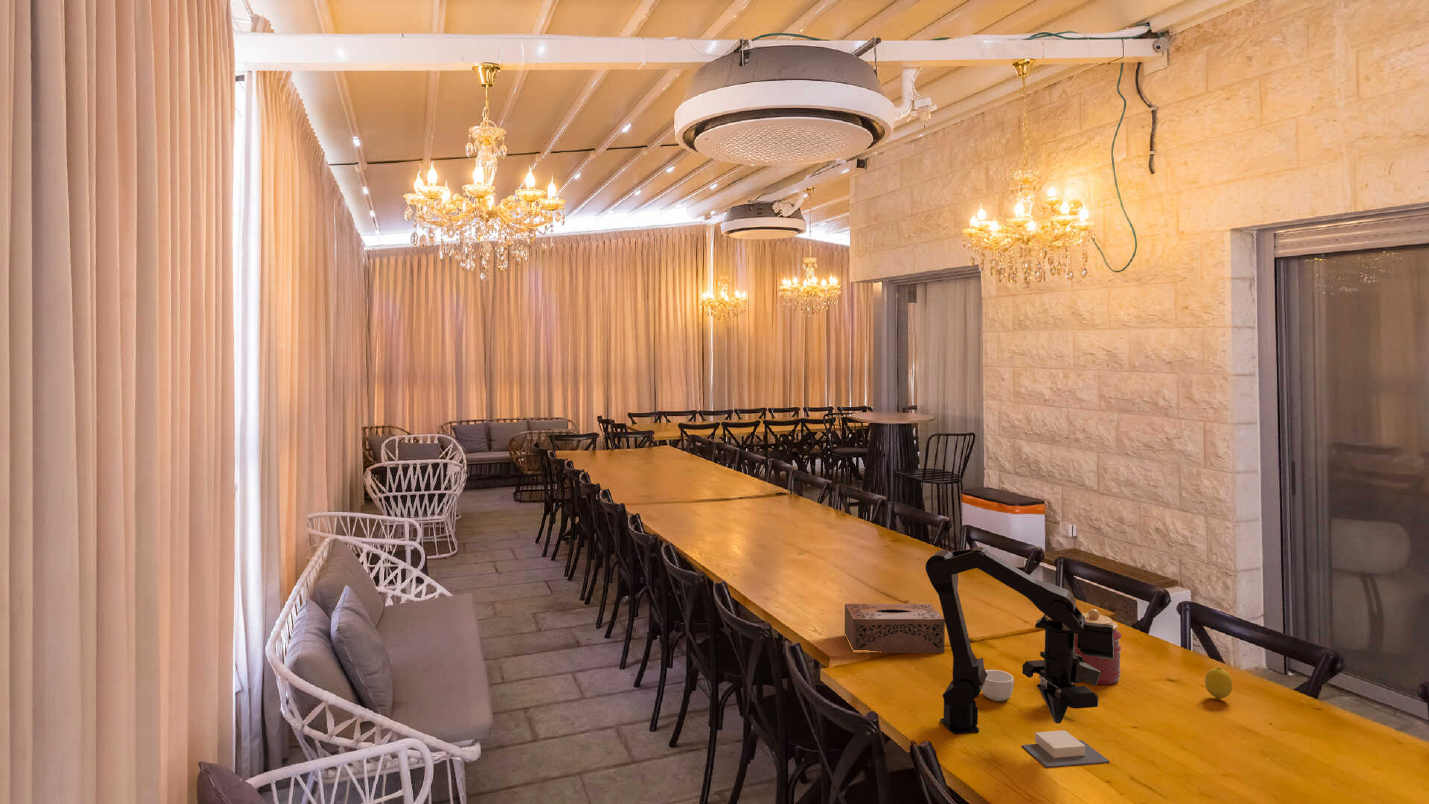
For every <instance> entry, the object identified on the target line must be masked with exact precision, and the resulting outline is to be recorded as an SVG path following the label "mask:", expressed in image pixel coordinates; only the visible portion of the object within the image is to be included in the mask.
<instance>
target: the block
mask: <svg viewBox="0 0 1429 804" xmlns="http://www.w3.org/2000/svg"><path fill="white" fill-rule="evenodd" d="M1034 742H1035V744H1038V745H1040V746H1041V747H1042V748H1043V749H1044V750H1045V751H1047V752H1048V753H1049V754H1050V755H1051V756H1052V757H1054V758H1059V757H1072V756H1084V755H1085V745H1084V744H1082V743H1081V742H1080V741H1078V738H1076V737H1074V736H1073V735H1072V734H1070V732H1068V731H1067V730H1064V729H1063V730H1051V731H1039V732H1034Z"/></svg>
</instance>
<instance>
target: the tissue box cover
mask: <svg viewBox="0 0 1429 804" xmlns="http://www.w3.org/2000/svg"><path fill="white" fill-rule="evenodd" d="M945 629H946V624H945V620H944V616H943V615H942V614H941V613H939V611H938V610H937V608H935V607H934V606H933V604H931V603H844V635H845V634H846V636H847V638H848V640H849V642H850V644H851V646H852V648H853V650H868V651H869V650H870V651H877V652H878V651H879V652H880V651H881V652H882V653H881V654H945V641H946V640H945V638H946V637H945V635H946V634H945V633H946V632H945Z"/></svg>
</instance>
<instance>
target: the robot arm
mask: <svg viewBox="0 0 1429 804" xmlns="http://www.w3.org/2000/svg"><path fill="white" fill-rule="evenodd" d="M974 569H975V570H976V569H978V570H980V571H982V572H983V573H985V574H987V575H988V576H991V577H992V578H994V579H995V580H997V581H999V582H1001V583H1002V584H1004V585H1005V586H1007V587H1008V588H1010V589H1012V590H1014V591H1015V592H1017V593H1019V594H1021V595H1022V596H1024V597H1026V598H1027V599H1028V600H1029V601H1030V602H1031V603H1032V604H1033V605H1034V606H1035V607H1036V608H1037V609H1038V610H1039V611H1040V612H1041V613H1043V615H1042V617H1040V618H1039V619H1037V620H1036V622H1035V625H1034V627H1035V628H1037V629H1044V651H1040V652H1039V656H1040V658H1042V659H1036V660H1026V661H1025V662H1024V663H1023V664H1022V669H1021V671H1022V672H1021V673H1022V674H1023V675H1024V676H1026V677H1027V678H1028V679H1030V678H1031V679H1032V678H1033V677H1034V674H1038V678H1039V680H1040V682H1039V683H1038V684H1036V688H1037V689H1038V690H1039V692H1040V695H1041V696H1042V698H1043V700H1044V702H1045V704H1046V706H1047V708H1048V711H1049V713H1050V715H1051V718H1052V720H1053V721H1054V723H1055V724H1061V723H1062V721H1063V719H1064V717H1065V715H1066V712H1067V710H1068V708H1071V709H1075V710H1076V709H1089V708H1098V707H1099V699H1100V698H1099V695H1097V693H1096V692H1094V691H1092V689H1090V688H1088V687H1086V686H1085V685H1081V686H1080V685H1078V684H1081V682H1083V681H1085V682H1084V683H1087V682H1088V684H1091V685H1092V686H1094V687H1096V686H1097V685H1098V684H1097V682H1098V679H1099V676H1100V673H1101V672H1100V671H1099V670H1097V669H1096V668H1094V667H1092V666H1091V665H1088V664H1087V663H1085V662H1084V661H1083V657H1081V656H1079V655H1077V654H1074V636H1075V633H1076V634H1078V642H1077V647H1078V649H1080V652H1083V655H1088V656H1094V657H1100V658H1106V659H1112V660H1113V657H1114V638H1113V625H1109V624H1096V623H1089V622H1085V617H1084V616H1083V615H1082V613H1083V612H1081V610H1080V609H1079V608H1078V607H1077V601H1076V598H1075V595H1074V594H1073V593H1072V592H1071V591H1070V590H1068V589H1066V588H1063V587H1061V586H1058V585H1056V584H1053V583H1049V582H1045V581H1042V580H1040V579H1037V578H1035V577H1033V576H1031V575H1029V574H1027V573H1026V572H1024V571H1023V570H1020V569H1019V568H1017V567H1016V566H1014V565H1012V564H1010V563H1009V562H1007V561H1005V560H1004V559H1002V558H1001V557H998V556H997V555H995V554H993V553H992V552H990V551H989V550H987V548H985V547H982V546H977V547H974V548H968V549H959V550H954V551H949V550H946V549H941V550H938V551H936V552H934V554H933V555H931V556H930V557H929V558H928V559H927V561H926V563H925V572H926V574H927V576H928V580H929V582H930V583H931V586H932V587H933V589H934V591H935V592H936V594H937V595H938V598H939V602H940V607H941V612H942V617H943V618H944V620H945V629H946V633H947V637H948V641H949V645H950V648H951V652H952V658H953V659H952V679H951V681H950V683H949V684H948V686H947V688H945V691H944V693H943V694H942V697H943V717H942V718H939V720H940V723H942V725H943V726H944V727H946V729H947V730H948V731H949V732H950V733H951V734H962V733H963V734H964V733H966V734H967V733H976V732H977V733H978V732H980V728H979V727H978V722H979V719H978V718H979V716H978V715H979V708H978V706H977V701H976V700H975V699H977V698H978V697H979V695H980V694H981V693H982V688H983V686H984V683H985V679H986V677H987V675H988V674H987V673H986V671H985V670H986V669H985V664H984V663H985V661H984V658H983V657H980V658H977V657H976V655H975V654H974V652H973V649H972V646H971V642H970V637H969V632H968V629H967V624H966V619H965V616H964V612H963V607H962V603H961V599H960V594H959V591H958V589H959V587H958V586H959V574H961V573H964V572H967V571H970V570H974ZM1081 680H1082V681H1081ZM1072 683H1073V684H1072ZM1075 684H1077V685H1078V686H1077V685H1075Z"/></svg>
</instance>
